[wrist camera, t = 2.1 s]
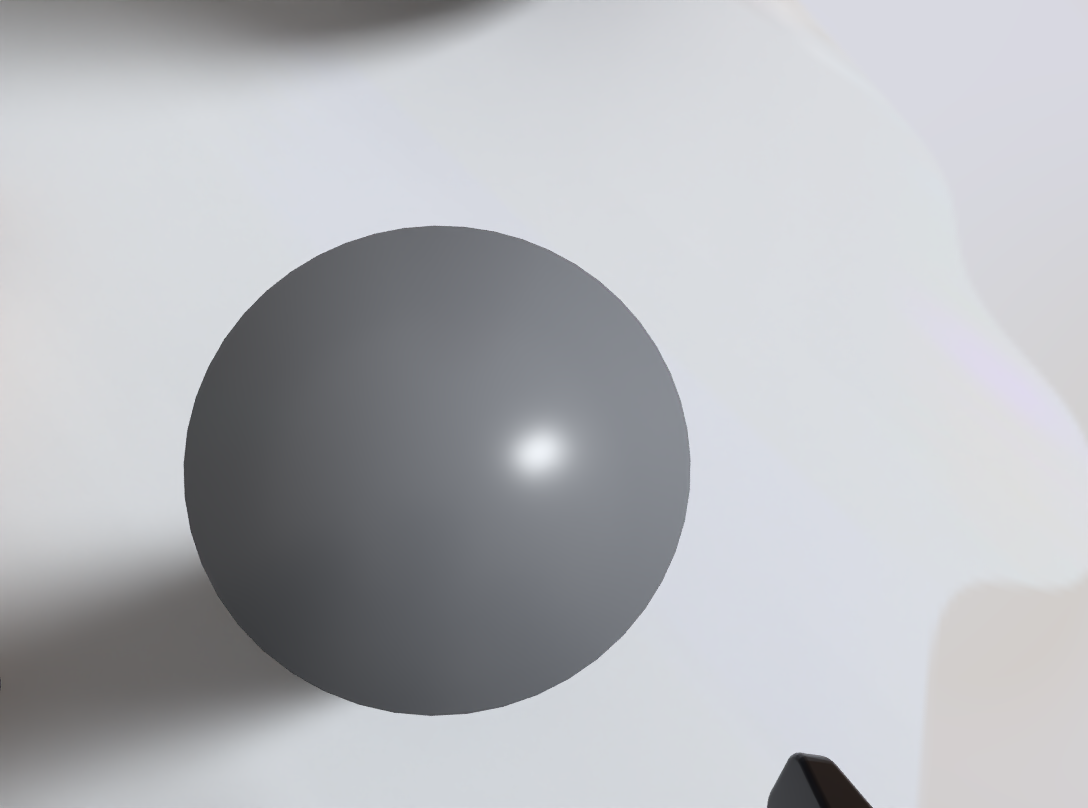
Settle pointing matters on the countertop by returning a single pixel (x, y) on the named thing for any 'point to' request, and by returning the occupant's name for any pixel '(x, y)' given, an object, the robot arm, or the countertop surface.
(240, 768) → the countertop surface
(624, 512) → the plug charcoal
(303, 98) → the countertop surface
